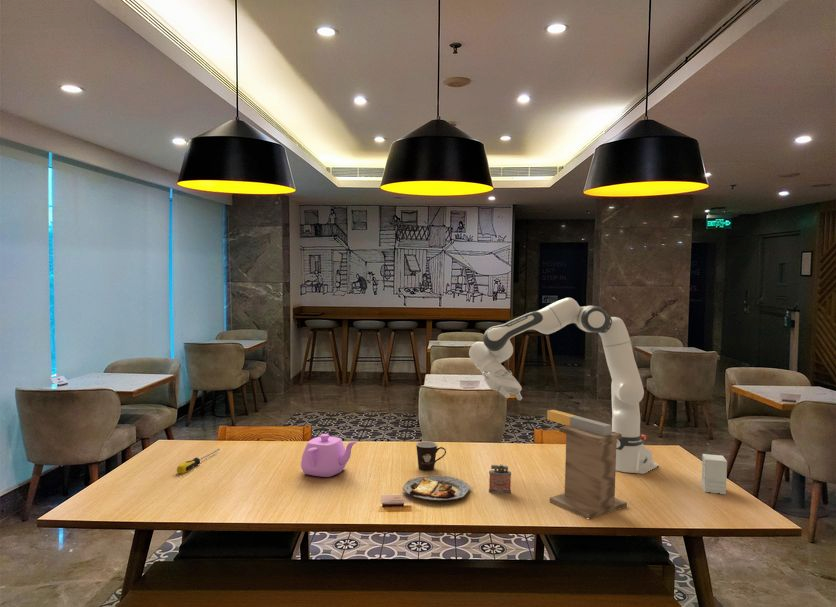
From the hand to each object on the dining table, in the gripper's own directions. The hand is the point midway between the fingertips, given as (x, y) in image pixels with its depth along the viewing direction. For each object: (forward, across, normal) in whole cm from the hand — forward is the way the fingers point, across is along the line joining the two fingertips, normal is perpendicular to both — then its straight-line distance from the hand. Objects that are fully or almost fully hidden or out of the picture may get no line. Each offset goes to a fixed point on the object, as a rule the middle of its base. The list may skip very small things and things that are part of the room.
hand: (514, 398), depth 224 cm
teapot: (-18, -42, +67) cm, 81 cm away
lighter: (+27, -12, +23) cm, 37 cm away
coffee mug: (-1, -11, +44) cm, 46 cm away
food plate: (+16, -28, +37) cm, 49 cm away
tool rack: (+48, -1, +3) cm, 48 cm away
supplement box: (+64, +44, -23) cm, 81 cm away
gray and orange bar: (+28, -5, -14) cm, 31 cm away
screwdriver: (-50, -70, +101) cm, 133 cm away
